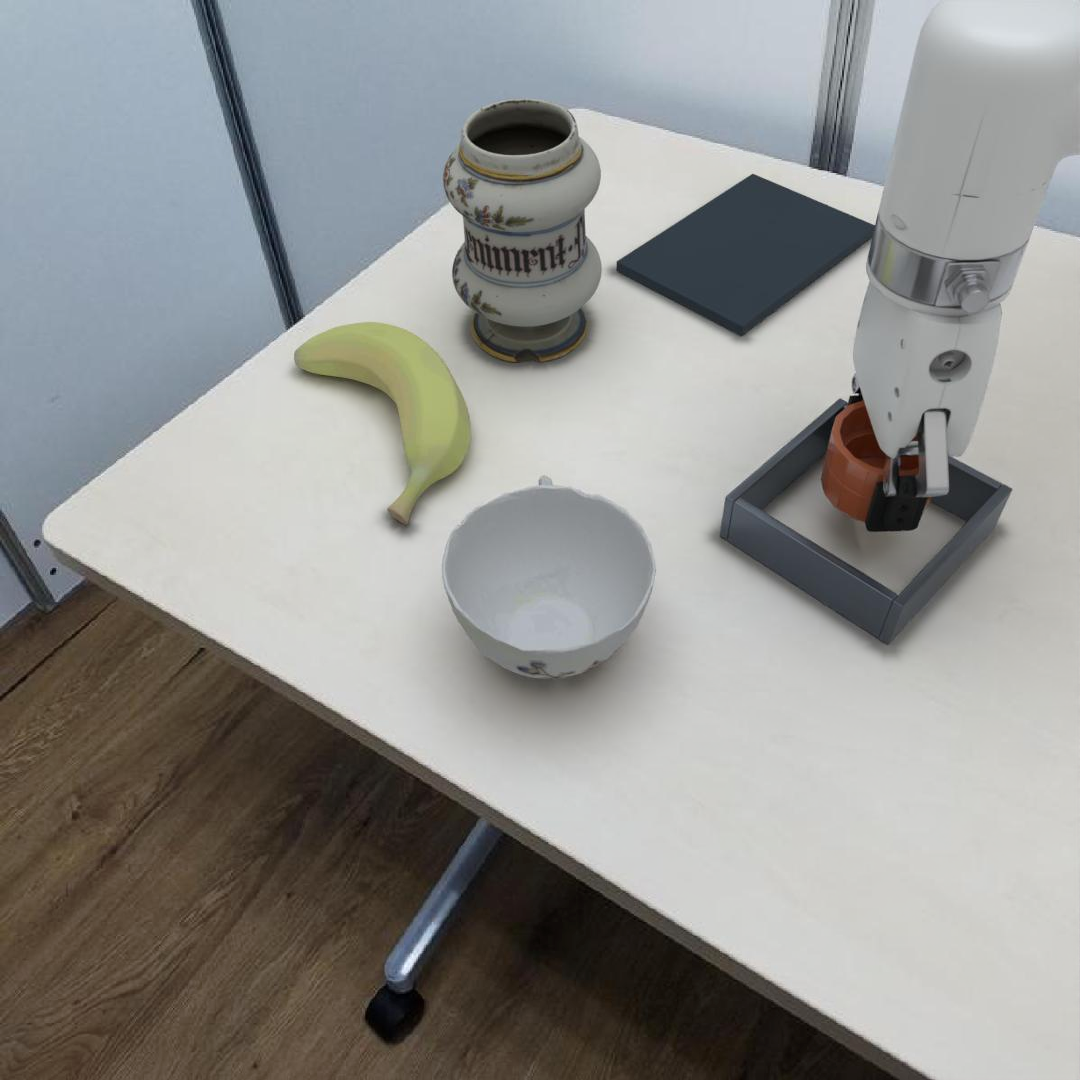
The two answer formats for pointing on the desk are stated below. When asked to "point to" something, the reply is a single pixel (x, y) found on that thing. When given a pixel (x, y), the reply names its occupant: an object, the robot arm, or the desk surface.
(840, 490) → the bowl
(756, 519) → the square frame
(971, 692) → the desk surface
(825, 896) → the desk surface
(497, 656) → the teacup
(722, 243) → the mat
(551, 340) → the apothecary jar
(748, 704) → the desk surface
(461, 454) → the banana
